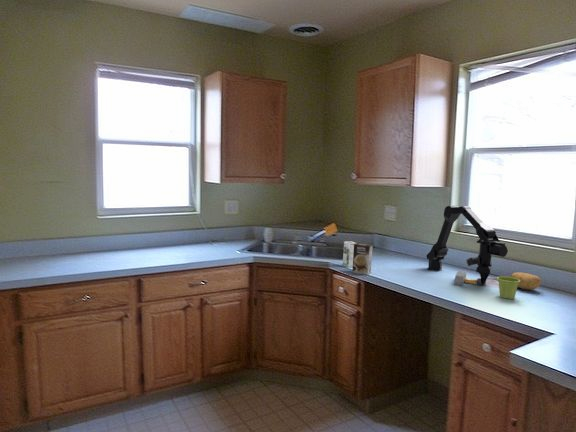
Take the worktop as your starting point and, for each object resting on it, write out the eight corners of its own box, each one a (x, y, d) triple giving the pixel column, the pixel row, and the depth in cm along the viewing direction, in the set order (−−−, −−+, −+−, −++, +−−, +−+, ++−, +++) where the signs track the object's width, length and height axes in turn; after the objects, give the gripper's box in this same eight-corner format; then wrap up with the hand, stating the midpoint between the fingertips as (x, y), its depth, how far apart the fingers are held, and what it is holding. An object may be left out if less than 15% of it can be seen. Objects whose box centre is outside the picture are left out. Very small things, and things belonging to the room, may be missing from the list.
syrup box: (342, 265, 245) (343, 241, 243) (351, 264, 247) (352, 240, 246) (346, 267, 240) (348, 242, 238) (355, 266, 242) (357, 242, 240)
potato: (517, 284, 214) (519, 269, 213) (544, 292, 201) (546, 276, 201) (505, 286, 210) (506, 270, 209) (531, 294, 197) (533, 277, 196)
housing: (454, 284, 210) (455, 275, 209) (457, 278, 222) (458, 270, 222) (463, 285, 208) (463, 276, 208) (465, 279, 220) (466, 271, 220)
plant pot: (490, 295, 194) (492, 277, 193) (505, 293, 197) (507, 275, 196) (507, 301, 185) (509, 282, 184) (523, 299, 188) (525, 280, 187)
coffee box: (351, 272, 227) (353, 244, 226) (355, 270, 233) (357, 242, 231) (368, 275, 223) (369, 246, 221) (371, 272, 229) (372, 244, 227)
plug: (457, 282, 214) (458, 276, 214) (458, 280, 217) (458, 275, 217) (485, 286, 208) (485, 280, 208) (485, 284, 211) (486, 278, 211)
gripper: (469, 248, 220) (467, 276, 222) (466, 254, 204) (464, 284, 206) (492, 250, 215) (490, 280, 217) (491, 257, 199) (488, 288, 200)
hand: (482, 283), depth 210 cm, fingers closed on plug, 3 cm apart
